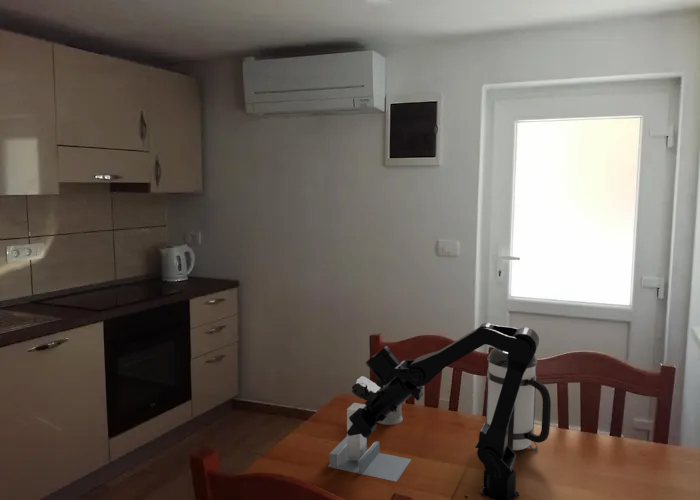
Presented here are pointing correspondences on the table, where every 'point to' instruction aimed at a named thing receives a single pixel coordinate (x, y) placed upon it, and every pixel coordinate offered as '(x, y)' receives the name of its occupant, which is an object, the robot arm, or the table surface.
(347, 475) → the table surface
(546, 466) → the table surface
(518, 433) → the coffee press
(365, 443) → the aluminium bar
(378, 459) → the vise
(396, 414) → the glass holder
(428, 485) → the table surface
